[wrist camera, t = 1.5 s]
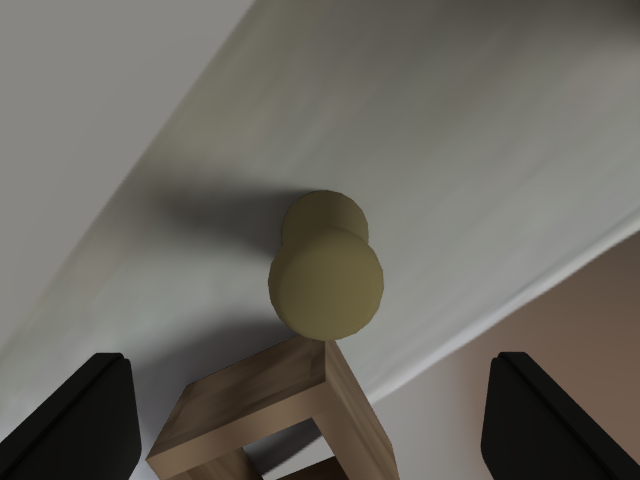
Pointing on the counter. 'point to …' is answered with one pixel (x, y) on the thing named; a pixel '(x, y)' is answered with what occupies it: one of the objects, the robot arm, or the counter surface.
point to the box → (274, 417)
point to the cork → (325, 268)
